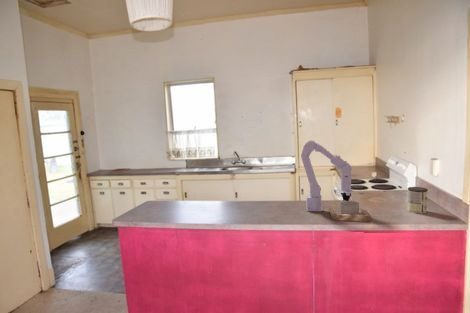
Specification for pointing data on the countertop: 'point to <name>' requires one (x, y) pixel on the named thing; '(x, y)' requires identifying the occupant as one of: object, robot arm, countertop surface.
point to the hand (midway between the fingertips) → (345, 204)
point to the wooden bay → (351, 215)
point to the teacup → (349, 207)
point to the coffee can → (417, 200)
